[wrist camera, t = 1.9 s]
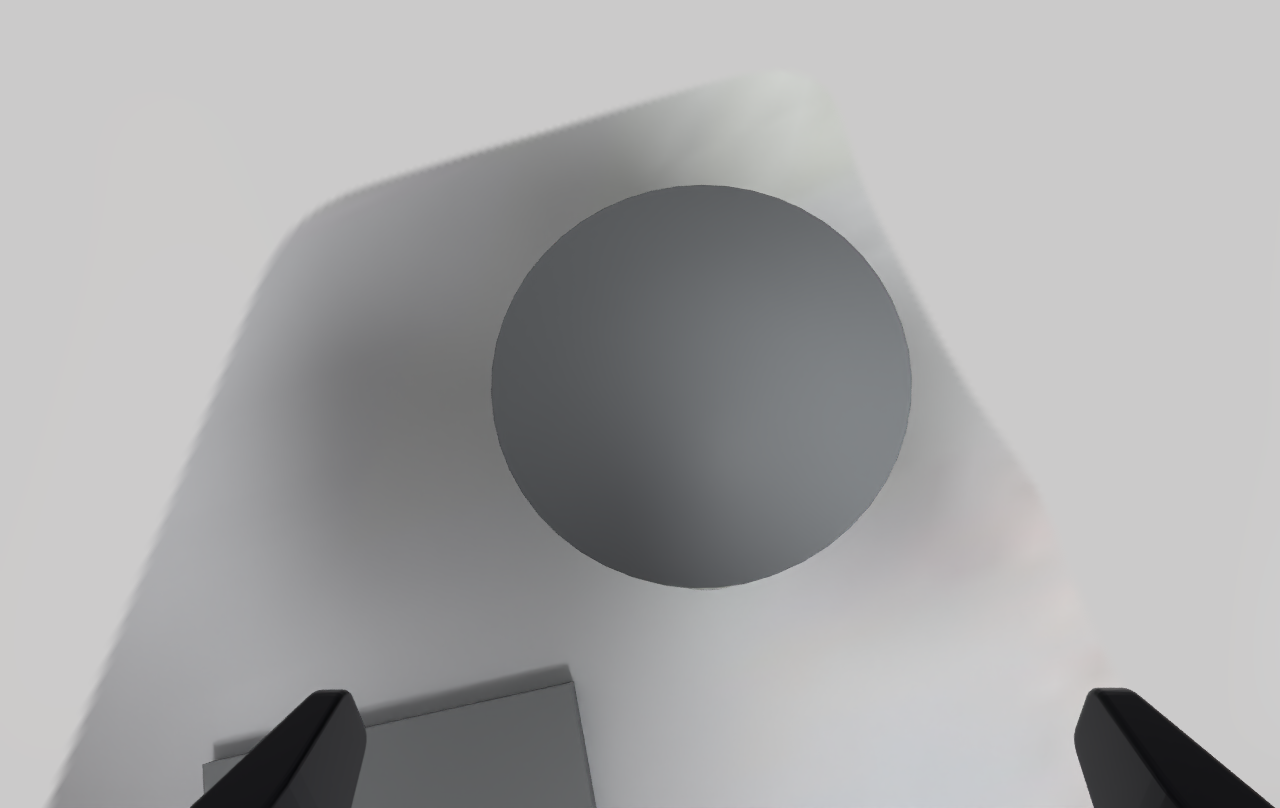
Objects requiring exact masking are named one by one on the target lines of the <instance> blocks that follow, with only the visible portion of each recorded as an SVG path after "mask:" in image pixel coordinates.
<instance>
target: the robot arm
mask: <svg viewBox="0 0 1280 808" xmlns="http://www.w3.org/2000/svg"><path fill="white" fill-rule="evenodd" d="M1074 742H1075V749H1076V753H1077V756H1078V759H1079V762H1080V766H1081V769H1082V772H1083V775H1084V778H1085V781H1086V784H1087V788H1088V791H1089V794H1090V797H1091V800H1092V803H1093V806H1094V808H1275V807H1273V806H1272V805H1271V804H1270V803H1269V802H1267V801H1266V800H1265V799H1264V798H1263V797H1261V796H1260V795H1259V794H1258V793H1257V792H1255V791H1254V790H1253V789H1252V788H1251V787H1249V786H1248V785H1247V784H1245V783H1244V782H1243V781H1242V780H1241V779H1240V778H1238V777H1237V776H1236V775H1235V774H1234V773H1232V772H1231V771H1230V770H1229V769H1227V768H1226V767H1225V766H1224V765H1223V764H1221V763H1220V762H1219V761H1218V760H1217V759H1215V758H1214V757H1213V756H1212V755H1211V754H1209V753H1208V752H1207V751H1206V750H1205V749H1203V748H1202V747H1201V746H1200V745H1198V744H1197V743H1196V742H1195V741H1194V740H1192V739H1191V738H1190V737H1189V736H1188V735H1186V734H1185V733H1184V732H1183V731H1182V730H1180V729H1179V728H1178V727H1177V726H1175V725H1174V724H1173V723H1172V722H1171V721H1169V720H1168V719H1167V718H1166V717H1165V716H1163V715H1162V714H1161V713H1160V712H1159V711H1157V710H1156V709H1155V708H1154V707H1153V706H1151V705H1150V704H1149V703H1148V702H1146V701H1145V700H1144V699H1143V698H1142V697H1140V696H1139V695H1138V694H1136V693H1135V692H1133V691H1131V690H1129V689H1126V688H1094V689H1092V690H1091V691H1090V692H1089V693H1088V695H1087V697H1086V700H1085V703H1084V706H1083V708H1082V711H1081V714H1080V717H1079V720H1078V723H1077V726H1076V729H1075V734H1074ZM366 743H367V735H366V729H365V726H364V724H363V721H362V719H361V716H360V714H359V711H358V709H357V706H356V704H355V701H354V699H353V697H352V695H351V693H349V692H348V691H347V690H318V691H316V692H314V693H312V694H311V695H310V696H308V697H307V698H306V699H305V700H304V701H303V702H302V703H301V704H300V705H299V706H298V707H297V708H296V709H295V710H293V711H292V712H291V713H290V714H289V715H288V716H287V717H286V718H285V719H284V720H283V721H282V722H281V723H280V724H279V725H277V726H276V727H275V728H274V729H273V730H272V731H271V732H270V733H269V734H268V735H267V736H266V737H265V738H264V739H263V740H261V741H260V742H259V743H258V744H257V745H256V746H255V747H254V748H253V749H252V750H251V751H250V752H249V753H248V754H247V755H245V756H244V757H243V758H242V759H241V760H240V761H239V762H238V763H237V764H236V765H235V766H234V767H233V768H232V769H231V770H229V771H228V772H227V773H226V774H225V775H224V776H223V777H222V778H221V779H220V780H219V781H218V782H217V783H216V784H215V785H214V786H212V787H211V788H210V789H209V790H208V791H207V792H206V793H205V794H204V795H203V796H202V797H201V798H200V799H199V800H198V801H196V802H195V803H194V804H193V805H192V806H191V807H190V808H352V804H353V799H354V795H355V791H356V787H357V783H358V779H359V775H360V771H361V766H362V762H363V758H364V754H365V750H366Z"/></svg>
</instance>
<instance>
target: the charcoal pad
mask: <svg viewBox="0 0 1280 808" xmlns="http://www.w3.org/2000/svg"><path fill="white" fill-rule="evenodd" d="M365 729H366V735H367V743H366V750H365V754H364V758H363V762H362V766H361V771H360V775H359V779H358V783H357V787H356V791H355V795H354V799H353V804H352V808H596V804H595V798H594V793H593V787H592V782H591V776H590V771H589V765H588V759H587V754H586V748H585V743H584V737H583V731H582V726H581V720H580V715H579V709H578V704H577V698H576V692H575V687H574V681H573V682H569V683H564V684H560V685H555V686H551V687H546V688H542V689H537V690H533V691H528V692H524V693H519V694H514V695H510V696H505V697H501V698H496V699H492V700H487V701H483V702H478V703H474V704H469V705H465V706H460V707H456V708H451V709H446V710H442V711H437V712H433V713H428V714H424V715H419V716H415V717H410V718H406V719H401V720H397V721H392V722H387V723H383V724H378V725H374V726H369V727H365ZM247 754H248V753H247ZM247 754H242V755H238V756H233V757H229V758H224V759H220V760H215V761H212V762H209V763H206V764H203V784H204V794H205V793H206V792H207V791H208V790H209V789H210V788H211V787H212V786H214V785H215V784H216V783H217V782H218V781H219V780H220V779H221V778H222V777H223V776H224V775H225V774H226V773H227V772H228V771H229V770H231V769H232V768H233V767H234V766H235V765H236V764H237V763H238V762H239V761H240V760H241V759H242V758H243V757H244V756H245V755H247Z"/></svg>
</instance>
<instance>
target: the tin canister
mask: <svg viewBox="0 0 1280 808" xmlns="http://www.w3.org/2000/svg"><path fill="white" fill-rule="evenodd" d="M491 396H492V406H493V416H494V422H495V426H496V431H497V435H498V439H499V443H500V446H501V449H502V452H503V454H504V457H505V459H506V462H507V464H508V467H509V470H510V471H511V473H512V475H513V477H514V479H515V480H516V482H517V484H518V486H519V488H520V489H521V491H522V493H523V494H524V496H525V497H526V498H527V500H528V501H529V502H530V504H531V505H532V506H533V508H534V509H535V510H536V512H537V513H538V514H539V516H540V517H541V518H542V519H543V520H544V521H545V522H546V523H547V524H548V525H549V526H550V527H551V528H552V529H553V530H554V531H555V532H556V533H557V534H558V535H559V536H561V537H562V538H563V539H565V540H566V541H567V542H569V543H570V544H571V545H572V546H574V547H575V548H576V549H578V550H579V551H580V552H582V553H584V554H585V555H587V556H589V557H591V558H592V559H594V560H596V561H598V562H599V563H601V564H603V565H605V566H607V567H609V568H612V569H614V570H617V571H619V572H622V573H624V574H626V575H629V576H631V577H635V578H638V579H642V580H646V581H650V582H654V583H658V584H662V585H666V586H675V587H683V588H689V589H698V590H715V589H721V588H727V587H730V586H734V585H740V584H746V583H749V582H752V581H756V580H759V579H762V578H766V577H769V576H772V575H775V574H777V573H779V572H782V571H784V570H786V569H788V568H790V567H793V566H795V565H797V564H799V563H802V562H804V561H805V560H807V559H808V558H810V557H812V556H813V555H815V554H816V553H818V552H820V551H821V550H823V549H824V548H826V547H828V546H829V545H830V544H831V543H832V542H834V541H835V540H836V539H837V538H838V537H840V536H841V535H842V534H843V533H844V532H845V531H847V530H848V529H849V528H850V527H851V526H852V525H853V524H854V523H855V522H856V521H857V519H858V518H859V517H860V516H861V515H862V514H863V513H864V512H865V511H866V509H867V508H868V507H869V506H870V505H871V503H872V502H873V500H874V499H875V497H876V496H877V494H878V493H879V491H880V490H881V488H882V487H883V485H884V484H885V482H886V480H887V478H888V476H889V474H890V472H891V470H892V468H893V466H894V464H895V462H896V460H897V458H898V455H899V451H900V448H901V445H902V442H903V439H904V436H905V433H906V429H907V423H908V417H909V411H910V405H911V368H910V359H909V350H908V346H907V342H906V338H905V334H904V331H903V327H902V323H901V321H900V318H899V316H898V314H897V311H896V309H895V306H894V304H893V301H892V299H891V297H890V296H889V294H888V292H887V290H886V289H885V287H884V285H883V283H882V282H881V280H880V278H879V277H878V275H877V274H876V273H875V271H874V270H873V269H872V268H871V266H870V265H869V264H868V262H867V261H866V260H865V258H864V257H863V256H862V255H861V254H860V253H859V252H858V251H857V250H856V249H855V248H854V247H853V246H852V245H851V244H850V243H849V242H848V241H847V240H846V239H845V238H844V237H843V236H841V235H840V234H839V233H838V232H836V231H835V230H834V229H832V228H831V227H830V226H829V225H827V224H826V223H825V222H823V221H822V220H820V219H818V218H816V217H815V216H813V215H811V214H810V213H808V212H806V211H805V210H803V209H801V208H799V207H797V206H794V205H792V204H790V203H787V202H785V201H783V200H781V199H778V198H775V197H772V196H769V195H765V194H762V193H759V192H755V191H751V190H745V189H740V188H734V187H728V186H711V185H694V186H678V187H672V188H666V189H661V190H655V191H650V192H647V193H644V194H640V195H637V196H634V197H630V198H627V199H625V200H623V201H620V202H618V203H616V204H613V205H611V206H609V207H607V208H604V209H602V210H601V211H599V212H597V213H596V214H594V215H592V216H590V217H589V218H587V219H585V220H584V221H582V222H581V223H579V224H578V225H577V226H575V227H574V228H573V229H571V230H570V231H569V232H567V233H566V234H565V235H563V236H562V237H561V238H560V239H559V240H558V241H557V242H556V243H555V244H554V245H553V246H552V247H551V248H550V249H549V250H548V251H547V252H546V253H545V254H544V255H543V256H542V257H541V258H540V259H539V261H538V262H537V263H536V264H535V266H534V267H533V268H532V269H531V271H530V272H529V273H528V274H527V276H526V278H525V279H524V281H523V283H522V284H521V286H520V287H519V289H518V291H517V292H516V294H515V295H514V298H513V300H512V302H511V304H510V306H509V309H508V311H507V313H506V315H505V317H504V320H503V323H502V327H501V330H500V333H499V336H498V340H497V343H496V349H495V355H494V360H493V366H492V388H491Z"/></svg>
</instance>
